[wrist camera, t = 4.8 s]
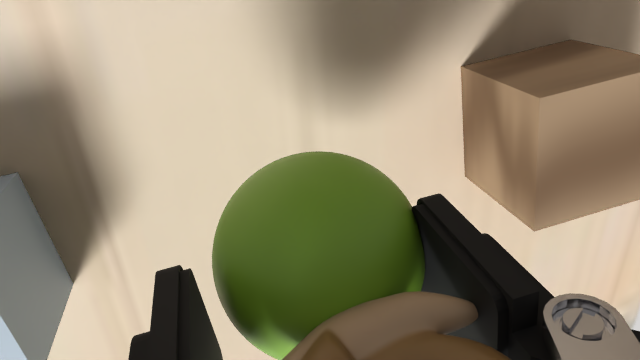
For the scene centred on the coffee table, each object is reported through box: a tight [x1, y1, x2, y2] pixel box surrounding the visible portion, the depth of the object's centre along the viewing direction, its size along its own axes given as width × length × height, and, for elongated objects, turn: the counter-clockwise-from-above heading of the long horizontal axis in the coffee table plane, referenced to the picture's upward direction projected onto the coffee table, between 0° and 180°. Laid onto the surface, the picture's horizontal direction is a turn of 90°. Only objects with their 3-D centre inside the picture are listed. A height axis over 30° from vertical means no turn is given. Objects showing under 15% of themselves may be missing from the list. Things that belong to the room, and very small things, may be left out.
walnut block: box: [461, 40, 640, 231], centre depth 19 cm, size 5×5×5 cm
